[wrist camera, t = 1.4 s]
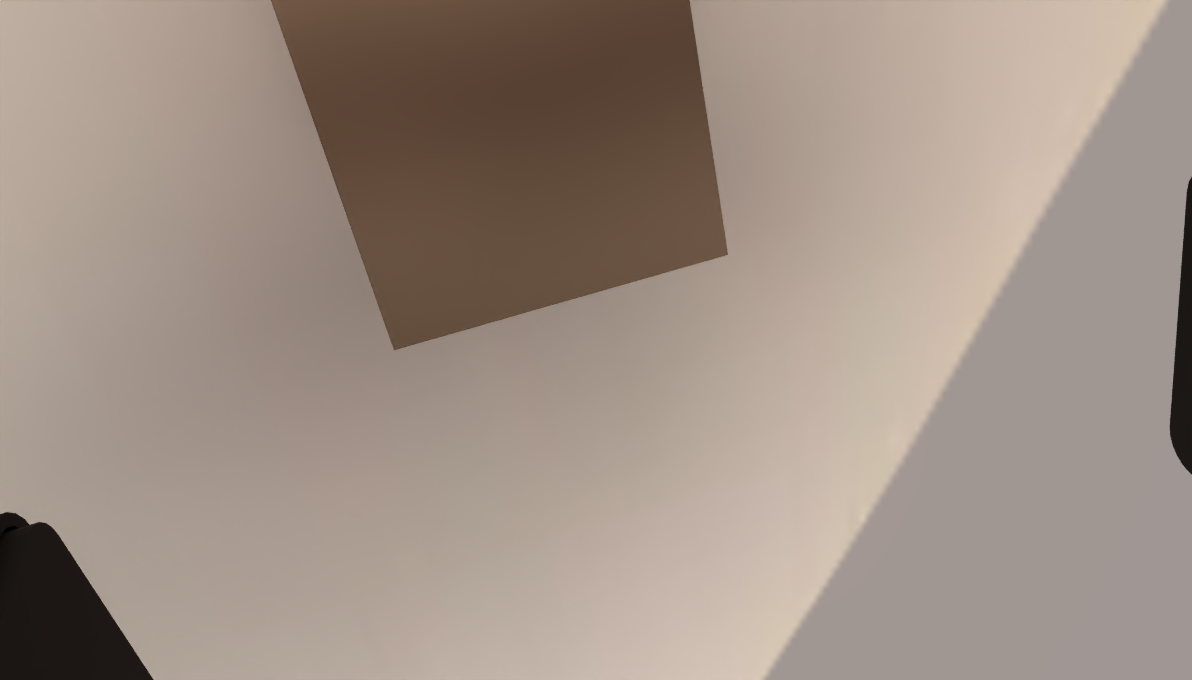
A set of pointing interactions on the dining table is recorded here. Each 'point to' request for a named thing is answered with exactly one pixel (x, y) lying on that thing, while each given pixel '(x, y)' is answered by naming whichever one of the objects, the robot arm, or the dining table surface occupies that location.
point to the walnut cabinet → (508, 148)
